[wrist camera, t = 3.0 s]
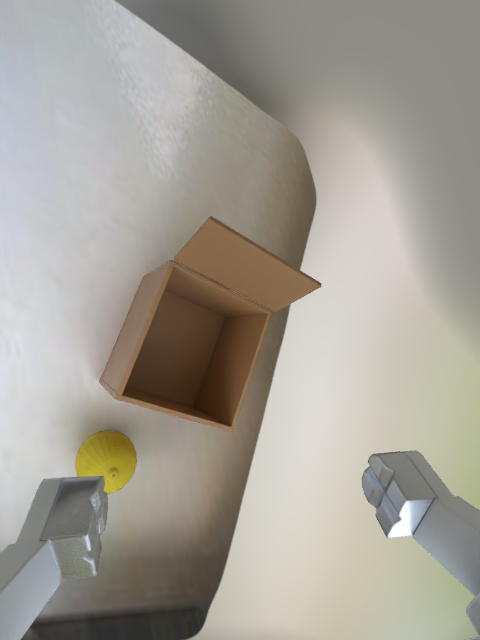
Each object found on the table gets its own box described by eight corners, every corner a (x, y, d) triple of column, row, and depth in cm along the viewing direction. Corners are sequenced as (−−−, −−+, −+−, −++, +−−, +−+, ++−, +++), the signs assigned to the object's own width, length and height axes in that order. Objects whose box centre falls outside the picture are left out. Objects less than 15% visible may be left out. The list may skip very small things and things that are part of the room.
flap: (209, 219, 25) (210, 215, 25) (173, 259, 29) (174, 256, 30) (321, 286, 30) (321, 283, 30) (275, 312, 35) (276, 309, 35)
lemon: (107, 482, 37) (120, 518, 30) (61, 460, 34) (63, 493, 27) (137, 437, 38) (156, 460, 31) (96, 413, 36) (106, 432, 29)
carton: (98, 382, 36) (114, 398, 27) (143, 276, 39) (171, 259, 30) (193, 410, 42) (233, 432, 33) (227, 315, 44) (272, 311, 35)
